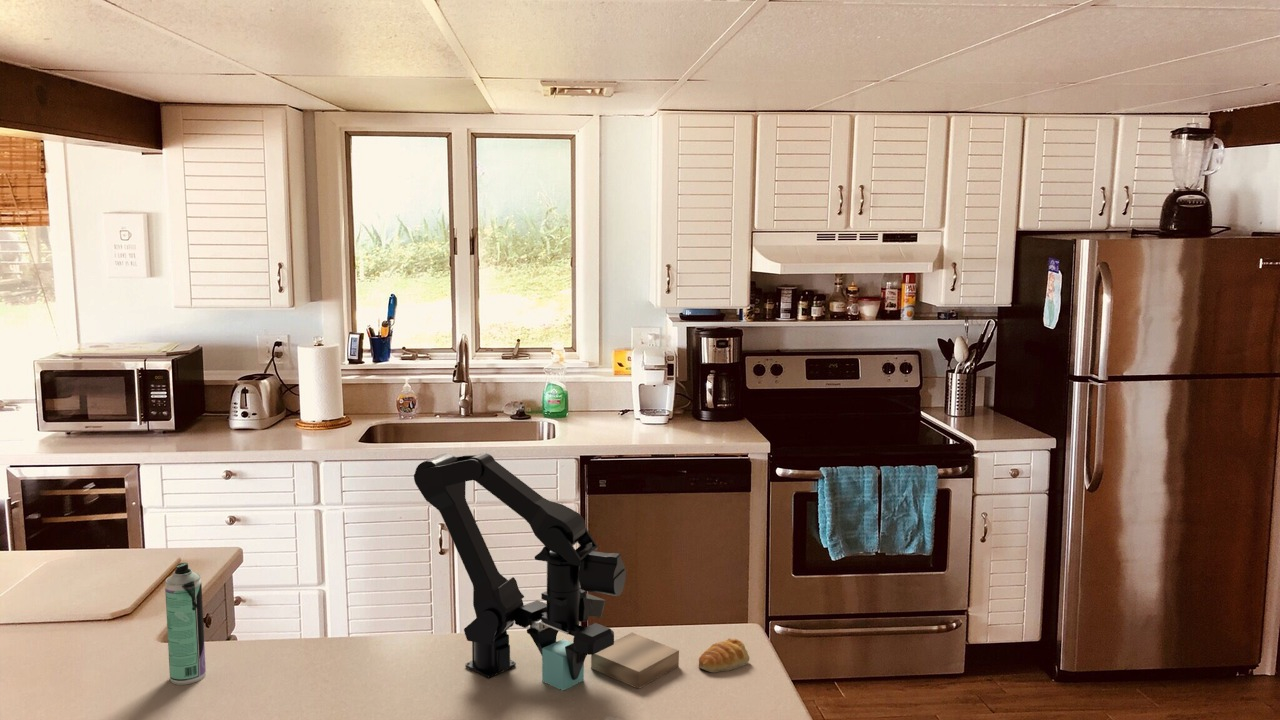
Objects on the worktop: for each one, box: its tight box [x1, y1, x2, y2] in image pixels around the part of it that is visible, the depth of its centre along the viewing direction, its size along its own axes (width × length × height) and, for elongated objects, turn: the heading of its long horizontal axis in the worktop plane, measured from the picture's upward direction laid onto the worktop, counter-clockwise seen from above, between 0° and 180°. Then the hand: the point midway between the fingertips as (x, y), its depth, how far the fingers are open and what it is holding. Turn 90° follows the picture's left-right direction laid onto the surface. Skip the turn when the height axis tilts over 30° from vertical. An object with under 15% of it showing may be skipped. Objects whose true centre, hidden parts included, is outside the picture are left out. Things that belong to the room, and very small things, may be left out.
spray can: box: [164, 562, 207, 686], centre depth 156 cm, size 6×6×20 cm
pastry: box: [698, 637, 750, 673], centre depth 165 cm, size 9×7×4 cm
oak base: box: [590, 632, 680, 690], centre depth 163 cm, size 11×11×3 cm
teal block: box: [541, 638, 585, 691], centre depth 158 cm, size 5×5×6 cm
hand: (563, 673), depth 158 cm, fingers open, 5 cm apart
